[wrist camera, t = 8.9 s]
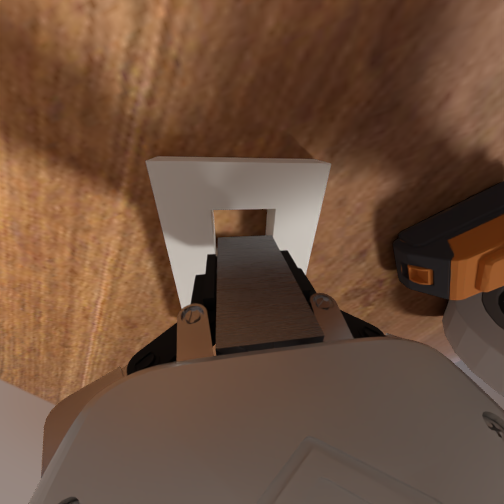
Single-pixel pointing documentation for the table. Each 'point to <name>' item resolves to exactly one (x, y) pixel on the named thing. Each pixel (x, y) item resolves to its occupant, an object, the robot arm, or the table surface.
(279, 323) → the square peg
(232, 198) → the hole board
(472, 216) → the power drill
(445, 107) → the table surface
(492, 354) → the alarm clock
